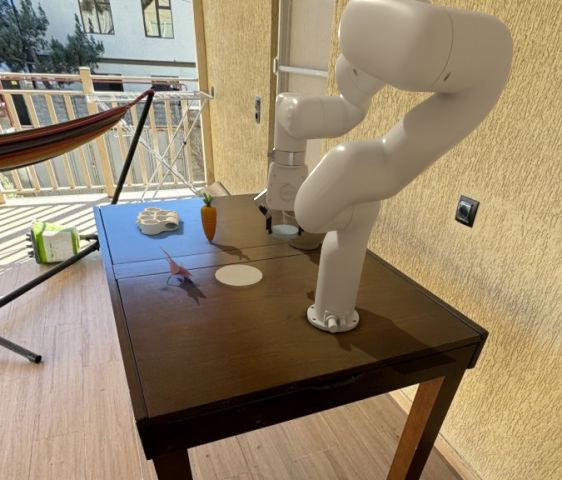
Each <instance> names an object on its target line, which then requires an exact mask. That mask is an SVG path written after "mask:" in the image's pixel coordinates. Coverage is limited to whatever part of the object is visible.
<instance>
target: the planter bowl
mask: <svg viewBox="0 0 562 480" xmlns="http://www.w3.org/2000/svg"><path fill="white" fill-rule="evenodd" d="M282 222H283V224H282V225H291V226H294V227H296V228H297V229H298V223H297V221H296V218H295V212H294V211H282ZM326 234H327V232H325V233H317V234H314V233H309V232H307V231H305V230H304V232H301V236H299V235H298V236H297V237H296V238H292V239H289V241H290V242H289V243H290V245H291V246H292V247H294V248H296V249H298V250H299V249H300V250H306V251H307V250H308V251H309V250H315V249H317V248H319V246H320V243H322V242H323V241H324V238H325V236H326Z"/></svg>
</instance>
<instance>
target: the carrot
mask: <svg viewBox="0 0 562 480" xmlns="http://www.w3.org/2000/svg"><path fill="white" fill-rule="evenodd" d="M202 195H203V197H204V198H202V201H203V203H204V204H205V205H202V207H201V208H200V218H201V225H202V229H203V233H204V235H205V237H206V239H207V241H208V242H209V243H212V242H213V241H214V238H215V235H216V230H217V222H218V221H217V217H218V215H217V214H218V213H217V212H218V211H217V208H216V206H214V205H212V201H213V200H214V197H213V196H212V195H211V194H208V195H207V193H206V192H203V193H202Z"/></svg>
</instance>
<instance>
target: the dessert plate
mask: <svg viewBox="0 0 562 480" xmlns="http://www.w3.org/2000/svg"><path fill="white" fill-rule="evenodd" d="M214 276H215V279H216V280H217V281H219V282H220V283H222V284H225V285H228V286H235V287H238V286H239V287H244V286H250V285H254V284H256V283H259V282H260V281H261V280H262V279H263V272H262V271H261V270H259V269H258V268H257V267H254V266H251V265H247V264H229V265H225V266H222V267H220V268H219V269H217V270H216V272H215V273H214Z"/></svg>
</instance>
